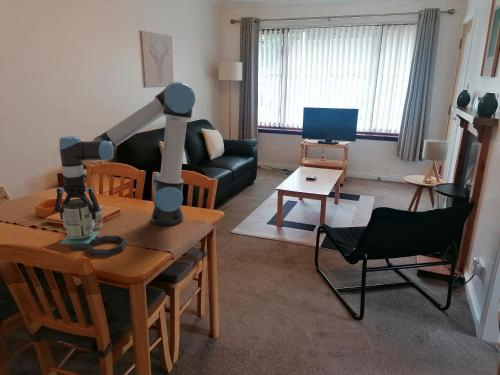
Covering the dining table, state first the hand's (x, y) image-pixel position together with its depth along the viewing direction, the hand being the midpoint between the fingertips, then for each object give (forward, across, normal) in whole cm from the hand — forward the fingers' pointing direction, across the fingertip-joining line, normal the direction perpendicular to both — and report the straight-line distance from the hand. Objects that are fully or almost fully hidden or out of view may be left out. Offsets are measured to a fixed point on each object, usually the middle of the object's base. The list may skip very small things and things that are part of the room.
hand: (79, 226), depth 150 cm
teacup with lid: (+5, -1, -14) cm, 15 cm away
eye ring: (+5, -10, +10) cm, 15 cm away
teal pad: (+5, 0, 0) cm, 5 cm away
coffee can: (+4, 0, 0) cm, 4 cm away
